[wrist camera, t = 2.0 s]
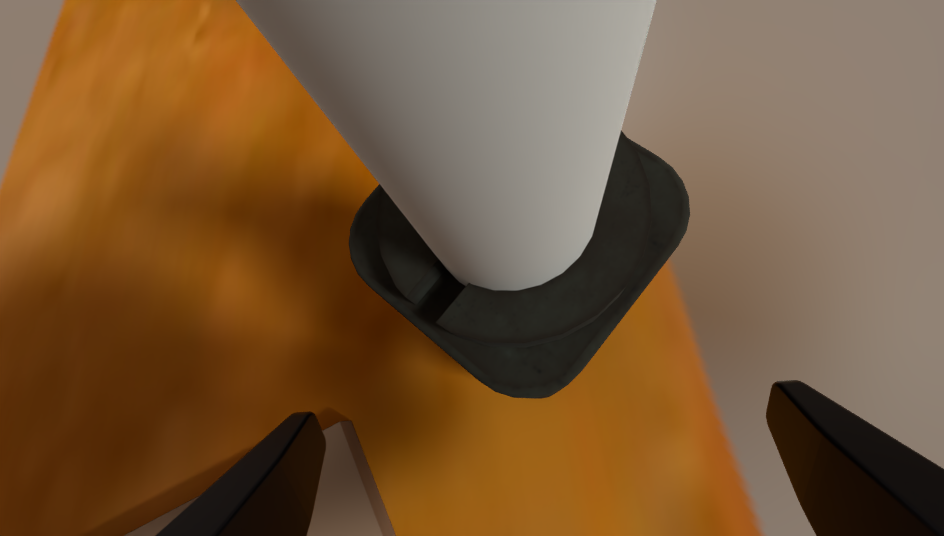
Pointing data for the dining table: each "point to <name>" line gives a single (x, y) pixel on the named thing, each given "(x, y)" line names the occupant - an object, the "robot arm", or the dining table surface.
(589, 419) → the dining table surface
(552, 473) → the dining table surface
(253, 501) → the robot arm
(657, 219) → the candle
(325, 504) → the shelf board
